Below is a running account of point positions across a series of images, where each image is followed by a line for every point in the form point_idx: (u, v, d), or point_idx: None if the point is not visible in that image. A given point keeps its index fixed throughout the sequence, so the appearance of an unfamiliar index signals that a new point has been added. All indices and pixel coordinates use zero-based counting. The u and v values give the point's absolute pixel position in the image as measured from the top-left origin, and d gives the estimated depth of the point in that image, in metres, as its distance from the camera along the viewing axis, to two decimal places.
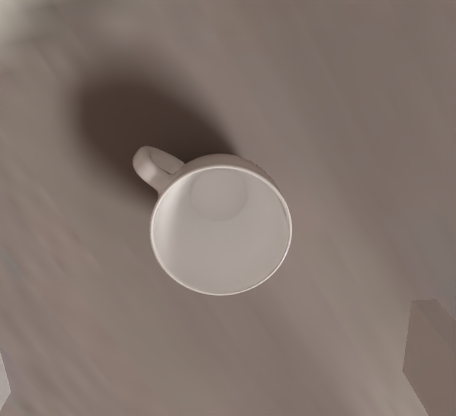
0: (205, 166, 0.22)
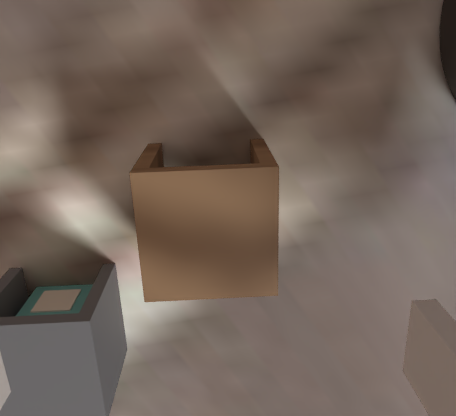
0: None
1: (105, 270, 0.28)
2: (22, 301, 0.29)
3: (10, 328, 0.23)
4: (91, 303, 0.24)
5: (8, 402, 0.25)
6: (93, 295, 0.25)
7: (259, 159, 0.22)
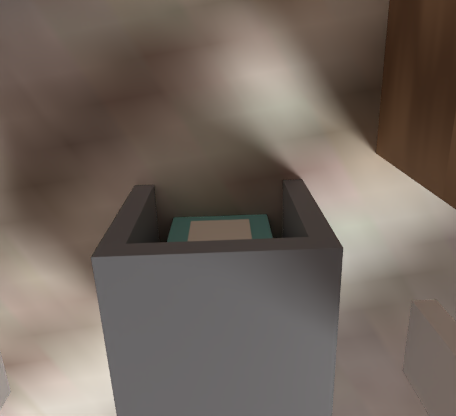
0: None
1: (295, 187, 0.17)
2: (155, 237, 0.18)
3: (193, 260, 0.12)
4: (318, 224, 0.14)
5: (166, 399, 0.14)
6: (309, 214, 0.14)
7: None
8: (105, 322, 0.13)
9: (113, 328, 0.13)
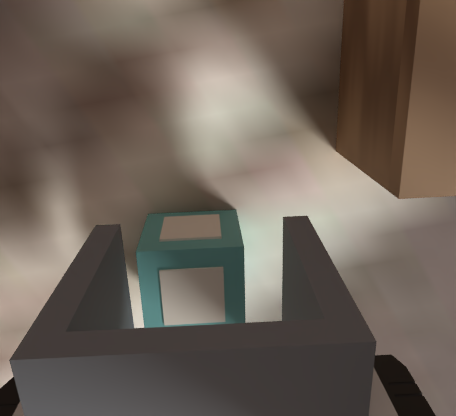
0: None
1: (298, 228, 0.13)
2: (122, 291, 0.14)
3: (159, 361, 0.08)
4: (335, 294, 0.10)
5: None
6: (321, 275, 0.11)
7: None
8: None
9: None
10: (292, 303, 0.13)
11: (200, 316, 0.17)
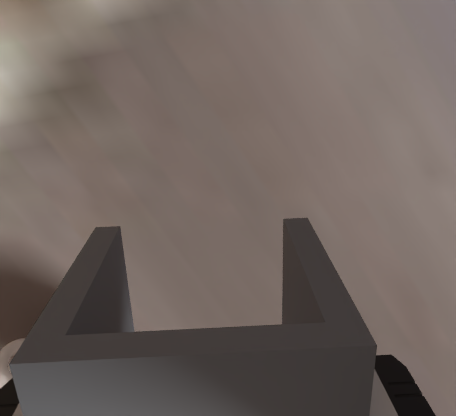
0: None
1: (299, 230, 0.13)
2: (122, 293, 0.14)
3: (160, 365, 0.08)
4: (335, 297, 0.10)
5: None
6: (322, 278, 0.11)
7: None
8: None
9: None
10: (292, 305, 0.13)
11: None
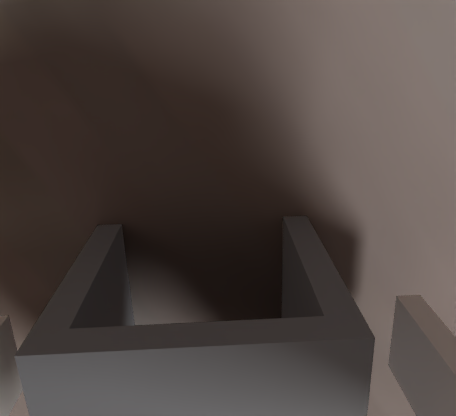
0: None
1: (298, 228, 0.14)
2: (123, 290, 0.14)
3: (163, 357, 0.08)
4: (334, 292, 0.10)
5: None
6: (321, 274, 0.11)
7: None
8: None
9: None
10: (292, 302, 0.13)
11: None
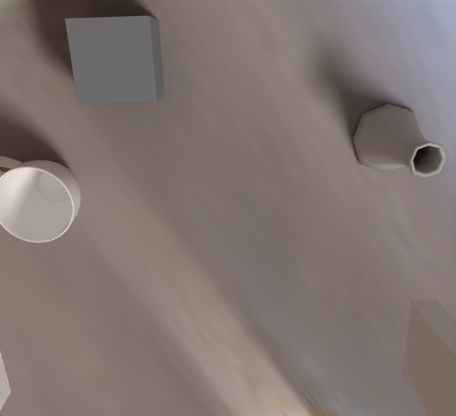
0: (17, 167, 0.40)
1: None
2: None
3: (99, 20, 0.36)
4: None
5: (93, 82, 0.38)
6: None
7: None
8: (70, 46, 0.37)
9: (73, 48, 0.37)
10: None
11: None
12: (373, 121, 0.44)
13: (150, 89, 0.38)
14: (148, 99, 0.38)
